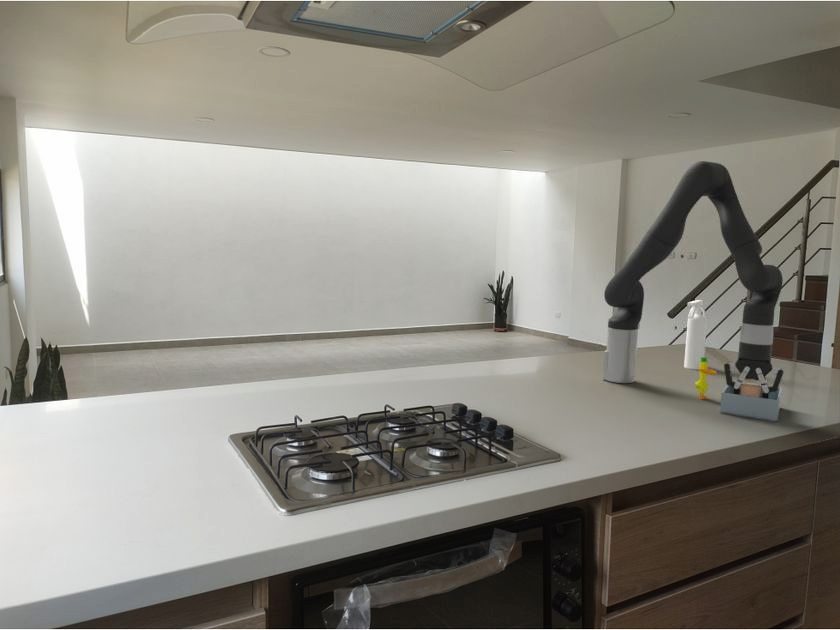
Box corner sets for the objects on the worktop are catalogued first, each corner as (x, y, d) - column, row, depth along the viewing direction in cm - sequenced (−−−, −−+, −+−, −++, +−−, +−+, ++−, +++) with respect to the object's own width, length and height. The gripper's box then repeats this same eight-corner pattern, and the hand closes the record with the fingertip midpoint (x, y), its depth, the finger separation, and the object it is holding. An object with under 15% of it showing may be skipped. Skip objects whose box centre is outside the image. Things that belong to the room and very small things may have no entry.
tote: (719, 412, 155) (721, 392, 154) (727, 399, 169) (729, 381, 168) (777, 422, 148) (779, 400, 147) (780, 407, 162) (781, 388, 161)
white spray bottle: (713, 367, 216) (716, 299, 213) (695, 371, 209) (698, 301, 206) (695, 364, 221) (698, 298, 218) (677, 368, 214) (680, 300, 211)
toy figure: (717, 400, 168) (721, 359, 166) (708, 401, 166) (712, 360, 165) (697, 395, 174) (701, 355, 172) (689, 396, 172) (692, 356, 171)
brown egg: (737, 411, 154) (739, 385, 154) (739, 407, 158) (741, 381, 158) (759, 414, 152) (761, 388, 151) (760, 410, 156) (762, 384, 155)
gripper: (723, 339, 154) (718, 402, 156) (787, 346, 146) (781, 412, 148) (726, 336, 160) (721, 396, 162) (788, 342, 152) (782, 405, 154)
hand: (750, 403), depth 155 cm, fingers open, 5 cm apart
